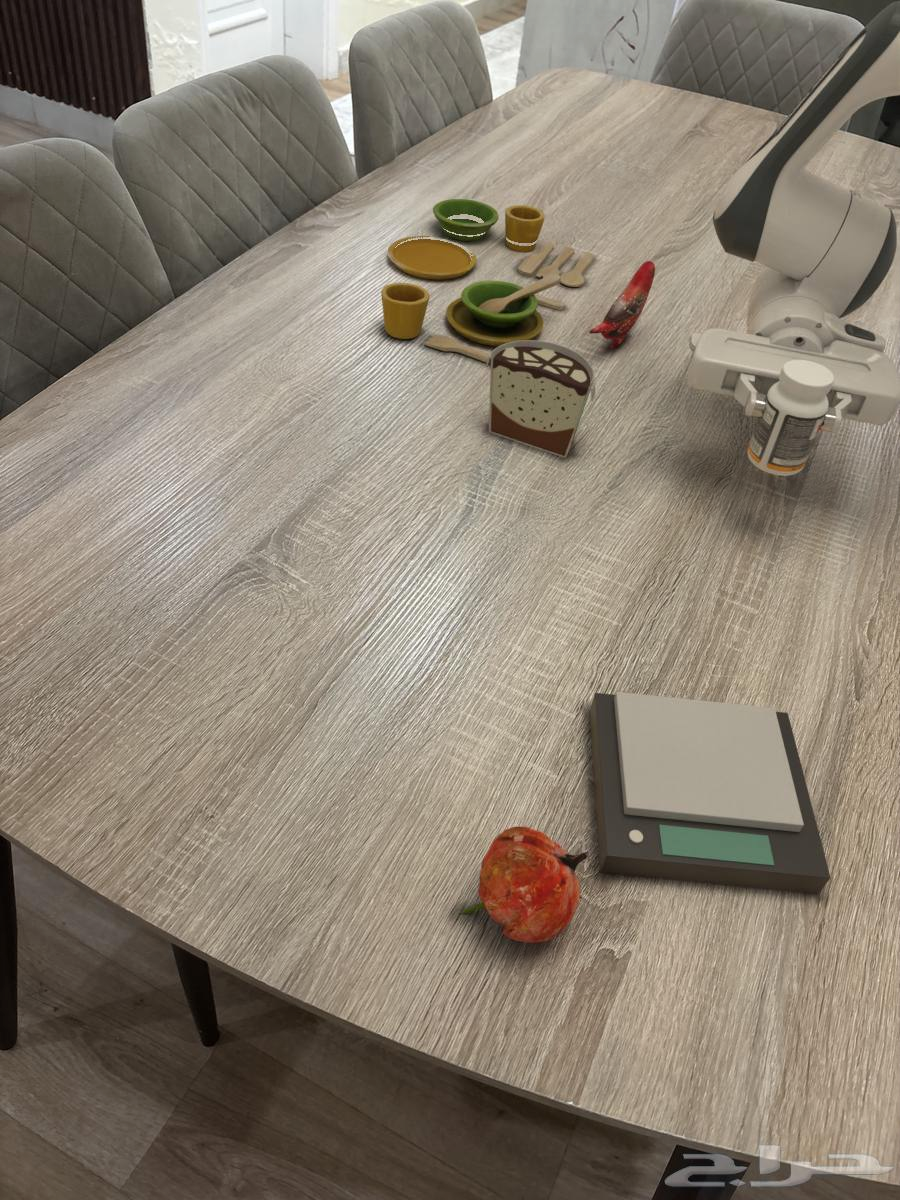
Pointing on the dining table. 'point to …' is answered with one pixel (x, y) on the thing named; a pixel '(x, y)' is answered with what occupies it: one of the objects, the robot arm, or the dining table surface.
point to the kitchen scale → (702, 794)
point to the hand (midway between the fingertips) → (793, 418)
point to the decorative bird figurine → (627, 306)
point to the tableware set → (483, 305)
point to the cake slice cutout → (538, 393)
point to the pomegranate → (529, 885)
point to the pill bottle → (791, 418)
